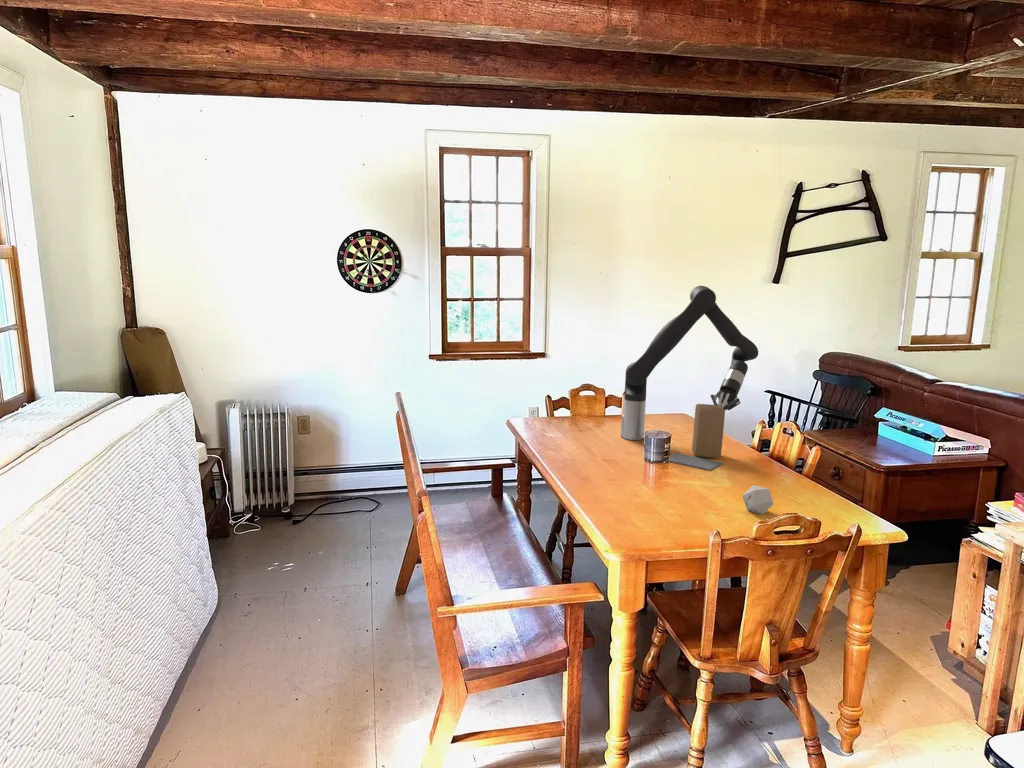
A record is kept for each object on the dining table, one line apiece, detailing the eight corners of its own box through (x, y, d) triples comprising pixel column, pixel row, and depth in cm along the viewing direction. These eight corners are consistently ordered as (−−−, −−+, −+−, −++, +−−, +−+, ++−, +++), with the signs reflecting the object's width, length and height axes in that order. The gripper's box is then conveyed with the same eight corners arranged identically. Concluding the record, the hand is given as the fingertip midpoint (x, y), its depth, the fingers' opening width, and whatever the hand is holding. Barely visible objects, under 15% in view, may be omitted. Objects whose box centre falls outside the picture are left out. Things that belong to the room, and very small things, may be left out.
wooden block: (716, 452, 277) (720, 404, 275) (721, 458, 268) (725, 409, 265) (691, 451, 278) (695, 403, 275) (695, 457, 268) (699, 407, 266)
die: (741, 506, 219) (735, 488, 213) (765, 494, 218) (759, 475, 213) (756, 524, 212) (750, 505, 206) (780, 511, 212) (775, 492, 206)
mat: (661, 460, 266) (661, 458, 266) (676, 453, 275) (676, 452, 275) (709, 471, 253) (710, 469, 253) (723, 464, 262) (723, 462, 262)
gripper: (715, 375, 286) (700, 408, 279) (745, 379, 277) (731, 413, 270) (719, 386, 291) (705, 418, 284) (749, 390, 282) (735, 424, 275)
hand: (717, 416), depth 277 cm, fingers closed
